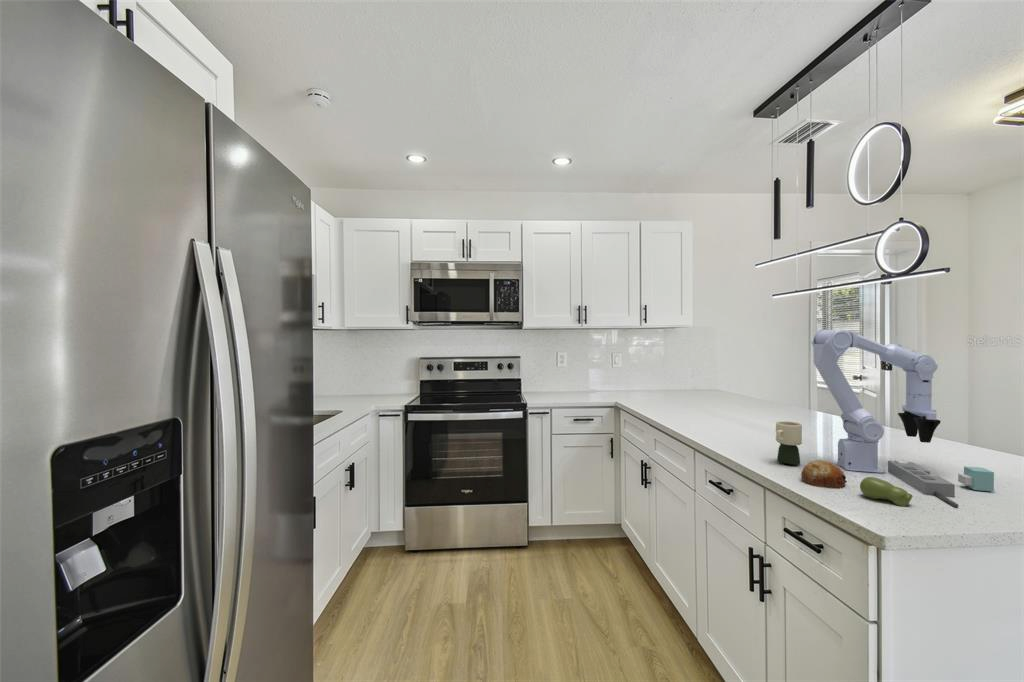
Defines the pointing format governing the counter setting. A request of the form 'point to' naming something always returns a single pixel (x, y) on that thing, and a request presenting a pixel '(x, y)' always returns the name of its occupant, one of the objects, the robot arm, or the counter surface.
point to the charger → (977, 478)
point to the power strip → (923, 480)
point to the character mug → (788, 441)
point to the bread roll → (823, 474)
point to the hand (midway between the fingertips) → (918, 439)
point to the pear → (884, 491)
